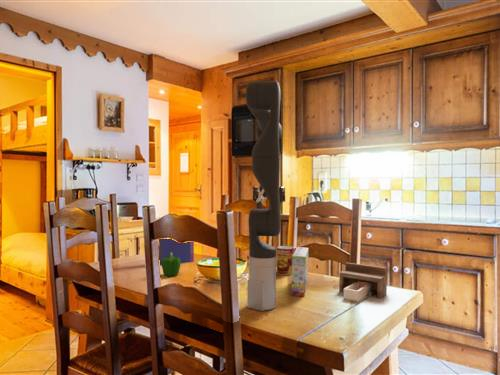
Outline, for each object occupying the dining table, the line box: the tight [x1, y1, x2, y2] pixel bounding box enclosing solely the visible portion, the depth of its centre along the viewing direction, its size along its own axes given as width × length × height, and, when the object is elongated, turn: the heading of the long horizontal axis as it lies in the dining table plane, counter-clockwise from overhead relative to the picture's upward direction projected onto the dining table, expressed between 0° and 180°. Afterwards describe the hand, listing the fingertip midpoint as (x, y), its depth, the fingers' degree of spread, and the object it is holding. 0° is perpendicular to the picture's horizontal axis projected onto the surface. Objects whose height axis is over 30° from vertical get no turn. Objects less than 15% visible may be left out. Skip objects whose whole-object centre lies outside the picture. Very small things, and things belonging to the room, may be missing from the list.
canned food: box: [276, 245, 295, 276], centre depth 178 cm, size 8×8×12 cm
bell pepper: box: [161, 253, 181, 277], centre depth 173 cm, size 8×8×10 cm
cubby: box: [338, 262, 388, 299], centre depth 147 cm, size 7×16×10 cm, turn 54°
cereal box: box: [158, 217, 195, 266], centre depth 200 cm, size 17×5×24 cm, turn 120°
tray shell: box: [343, 281, 372, 302], centre depth 143 cm, size 14×6×4 cm, turn 143°
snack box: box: [290, 246, 310, 297], centre depth 153 cm, size 21×6×15 cm, turn 168°
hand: (268, 212), depth 155 cm, fingers open, 8 cm apart
